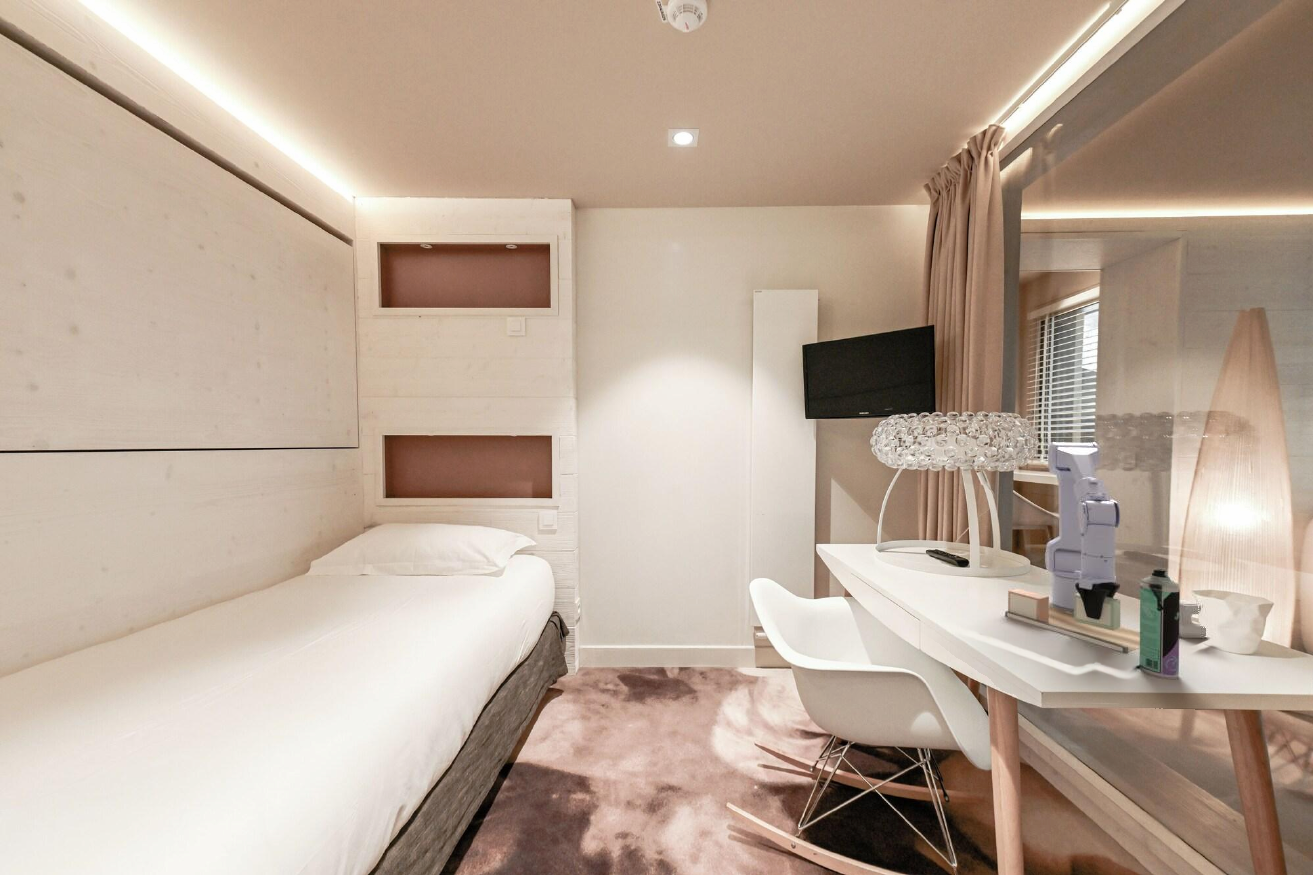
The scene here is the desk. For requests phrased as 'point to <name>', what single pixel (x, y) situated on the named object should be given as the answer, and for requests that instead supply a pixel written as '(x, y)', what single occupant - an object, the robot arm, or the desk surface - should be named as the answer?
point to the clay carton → (1029, 604)
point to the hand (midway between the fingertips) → (1097, 616)
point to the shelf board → (1095, 629)
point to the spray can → (1159, 625)
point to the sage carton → (1108, 615)
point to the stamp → (1190, 621)
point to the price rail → (1068, 632)
